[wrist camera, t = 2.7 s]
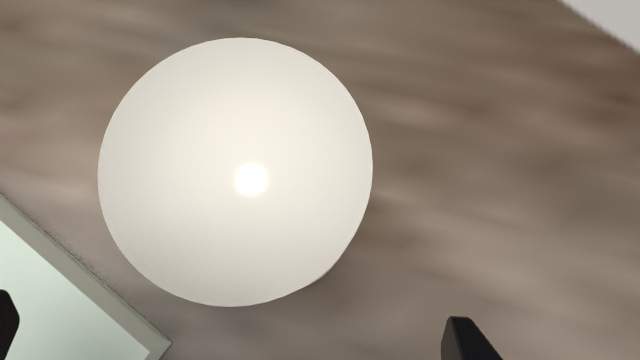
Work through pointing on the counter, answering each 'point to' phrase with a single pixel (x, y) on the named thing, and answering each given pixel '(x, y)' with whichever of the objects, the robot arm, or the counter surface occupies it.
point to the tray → (65, 302)
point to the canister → (235, 172)
